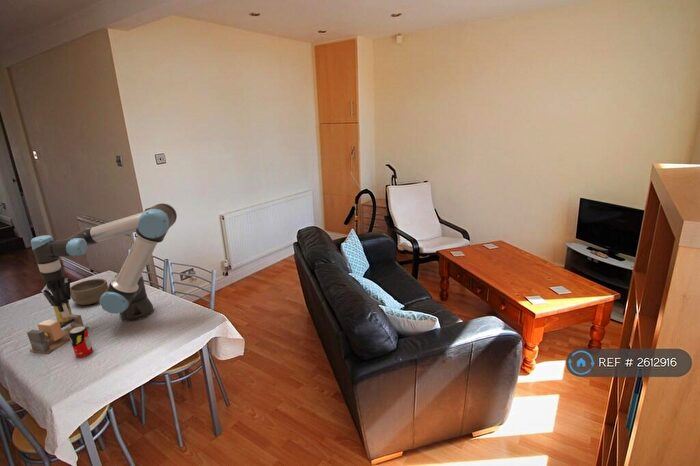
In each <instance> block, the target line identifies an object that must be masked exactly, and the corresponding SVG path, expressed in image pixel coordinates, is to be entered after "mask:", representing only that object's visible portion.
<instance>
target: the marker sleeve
mask: <svg viewBox="0 0 700 466" xmlns="http://www.w3.org/2000/svg"><path fill="white" fill-rule="evenodd" d="M37 327H38V330H41V331H44V333H49V336H50V337H49V338H48V339H47V340H50V341H56V340H58V339H60V338H61V337H63V333H62V330H63V328H61V326H60V323H59V321H57V320H56V319H55V320H54V319H45V320H43V321H41V322H40V323H38V324H37Z"/></svg>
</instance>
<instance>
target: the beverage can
mask: <svg viewBox="0 0 700 466" xmlns="http://www.w3.org/2000/svg"><path fill="white" fill-rule="evenodd" d="M84 326H85V325H84ZM84 326H79V327H75V328H73V329H72V330H70V335H69V337H70V343H71V347H72V349H73V353H74V355H75V356H76V357H78V358H82V357H86V356H88V355H90V354H91V353H92V352H93V345H92V342H91V337H90V335H89V330H88V329H85V327H86V326H85V327H84Z"/></svg>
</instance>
